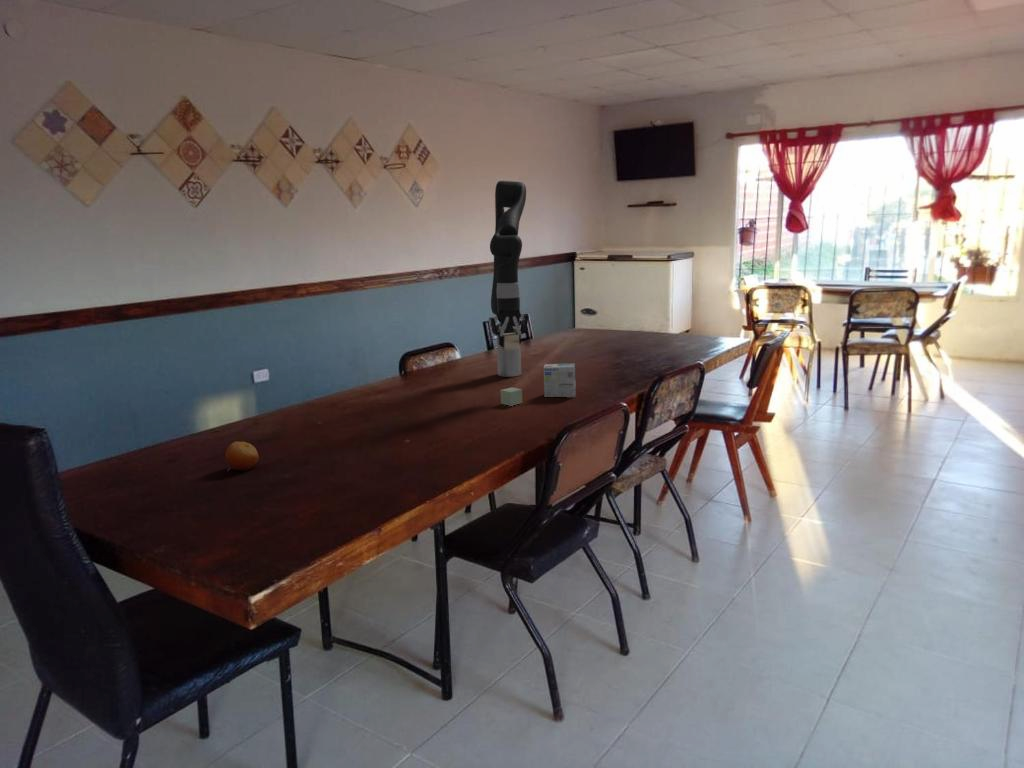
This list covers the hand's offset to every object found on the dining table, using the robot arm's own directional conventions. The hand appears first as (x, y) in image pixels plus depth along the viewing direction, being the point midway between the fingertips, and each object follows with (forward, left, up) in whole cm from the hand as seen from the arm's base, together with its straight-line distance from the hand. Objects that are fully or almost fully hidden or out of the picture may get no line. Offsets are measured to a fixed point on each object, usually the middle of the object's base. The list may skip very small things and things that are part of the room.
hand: (509, 346), depth 252 cm
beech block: (0, 0, -1) cm, 1 cm away
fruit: (+40, -89, -18) cm, 99 cm away
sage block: (+10, -4, -18) cm, 21 cm away
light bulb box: (+7, +15, -18) cm, 25 cm away
